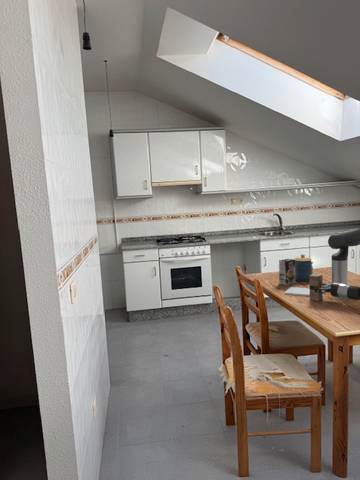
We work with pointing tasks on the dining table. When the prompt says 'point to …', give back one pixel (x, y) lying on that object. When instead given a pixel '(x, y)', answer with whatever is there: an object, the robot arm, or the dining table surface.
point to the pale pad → (298, 291)
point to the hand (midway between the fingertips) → (313, 285)
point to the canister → (303, 268)
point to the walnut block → (317, 281)
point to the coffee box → (287, 271)
